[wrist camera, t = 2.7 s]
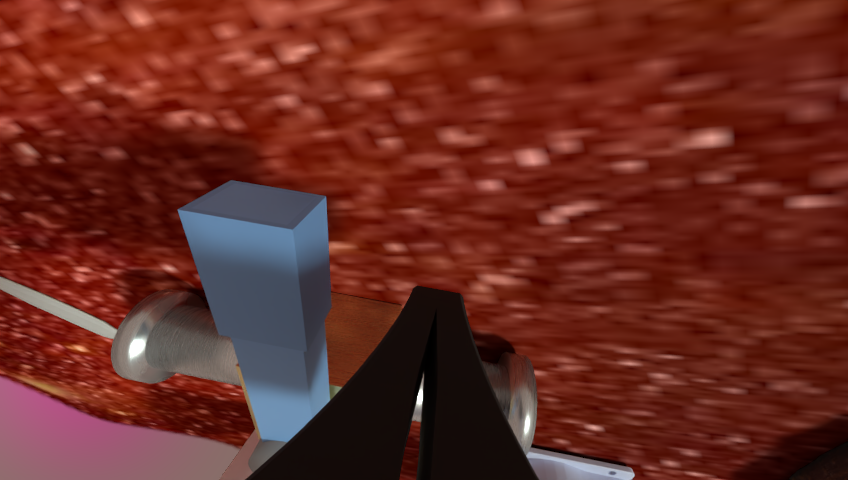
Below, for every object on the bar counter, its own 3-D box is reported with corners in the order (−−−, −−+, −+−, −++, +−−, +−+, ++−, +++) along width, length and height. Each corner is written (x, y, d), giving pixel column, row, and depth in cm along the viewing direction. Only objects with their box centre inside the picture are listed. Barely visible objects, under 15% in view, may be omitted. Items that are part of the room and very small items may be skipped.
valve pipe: (530, 328, 17) (551, 428, 12) (502, 394, 20) (510, 492, 16) (175, 263, 18) (78, 334, 13) (202, 335, 21) (130, 412, 17)
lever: (344, 445, 15) (327, 498, 13) (280, 432, 15) (255, 483, 14) (337, 197, 8) (299, 239, 6) (220, 178, 8) (152, 213, 7)
